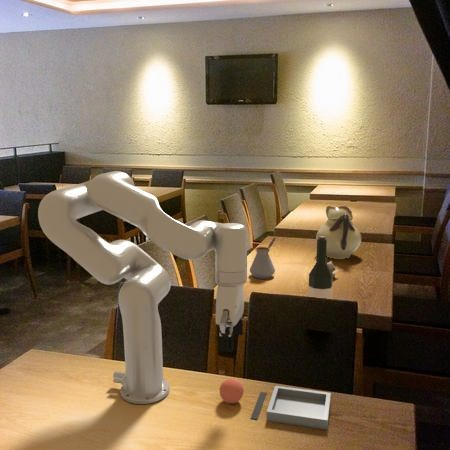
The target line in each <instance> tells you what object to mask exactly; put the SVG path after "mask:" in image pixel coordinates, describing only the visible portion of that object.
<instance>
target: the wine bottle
mask: <svg viewBox="0 0 450 450" xmlns="http://www.w3.org/2000/svg"><path fill="white" fill-rule="evenodd" d="M326 253H327V239H326V237H325V236H319V237H318V239H317V240H316V258H315V259H316V263H315V264H314V266H313V267H312V269H311V270H310V272H309V273H308V294H307V295H308V296H307V297H317V298H327V299H332V300H333V282H334V281H333V279H334V277H333V273H332V272H331V270H330V268H329V266H328V265H327V263H328V262H327V257H326Z"/></svg>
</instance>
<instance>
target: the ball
mask: <svg viewBox="0 0 450 450" xmlns="http://www.w3.org/2000/svg"><path fill="white" fill-rule="evenodd" d="M219 396H220V398H221V400H223V401H224V403H227V404H236V403H238V402H240V401H241V399H242V398H243V396H244V387H243V384H242V383H241V381H240V380H238V379H236V378H233V377H231V378H226V379H225V380H223V381H222V382H221V384H220V386H219Z"/></svg>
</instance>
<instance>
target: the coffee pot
mask: <svg viewBox="0 0 450 450" xmlns="http://www.w3.org/2000/svg"><path fill="white" fill-rule="evenodd" d="M276 239H277V240H276ZM271 240H272V241H270V243H269V244H268V246H266V247H265V246H258V247H255V248H254V250H255V251H256V254H255V256H254V259H253V260H252V262H251V263H252V264H251V266H250V268H249V272H250V274H251V275H252V276H253V277H254V278H256V279H261V280H262V279H263V280H264V279H269V278H271V277H272V276H273V275H274V274H275V272H276V268H275V266H274V264H273V262H272V259H271V257H270V254H269V252H270V248H271V247H272V246H273V244H274V243H275V242H276V241H278V238H277V237H273V238H272V239H271Z"/></svg>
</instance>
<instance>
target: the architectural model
mask: <svg viewBox="0 0 450 450" xmlns="http://www.w3.org/2000/svg"><path fill="white" fill-rule="evenodd" d="M326 263H327V265H328V266H329V268H330V270H331V272H332V273H333V278H334V277H336V273H338V272H339V270H338V269H336V266H334V263H333V261H332V260H331V261H329V262H326Z"/></svg>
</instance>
